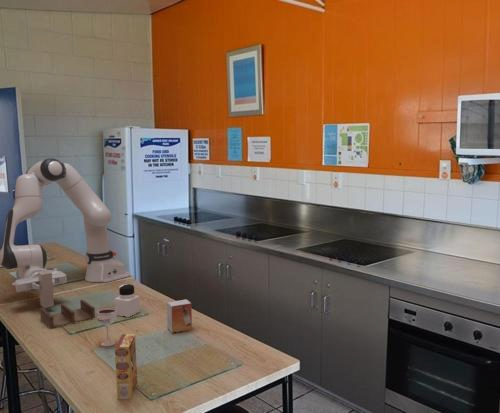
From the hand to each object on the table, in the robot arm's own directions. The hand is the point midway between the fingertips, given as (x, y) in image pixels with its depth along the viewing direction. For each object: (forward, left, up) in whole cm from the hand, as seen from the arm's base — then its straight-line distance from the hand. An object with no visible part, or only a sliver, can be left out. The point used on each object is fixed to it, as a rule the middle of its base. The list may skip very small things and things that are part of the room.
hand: (46, 286), depth 197 cm
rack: (-4, +14, -11) cm, 18 cm away
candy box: (+2, +81, -11) cm, 82 cm away
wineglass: (-7, +46, -11) cm, 48 cm away
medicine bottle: (-25, +23, -11) cm, 36 cm away
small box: (-33, +51, -11) cm, 62 cm away
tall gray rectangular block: (0, -1, -8) cm, 9 cm away
